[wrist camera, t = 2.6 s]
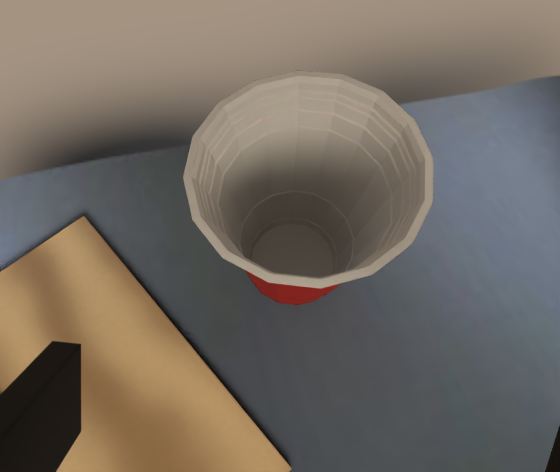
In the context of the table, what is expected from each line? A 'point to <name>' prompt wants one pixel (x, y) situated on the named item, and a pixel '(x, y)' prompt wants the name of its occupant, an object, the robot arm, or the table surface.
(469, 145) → the table surface
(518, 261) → the table surface
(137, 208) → the table surface
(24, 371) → the robot arm
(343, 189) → the plastic cup
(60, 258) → the corner board
